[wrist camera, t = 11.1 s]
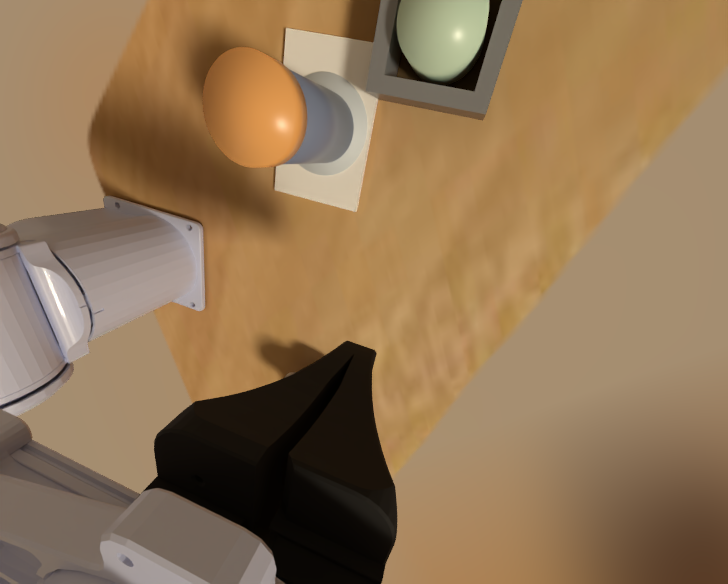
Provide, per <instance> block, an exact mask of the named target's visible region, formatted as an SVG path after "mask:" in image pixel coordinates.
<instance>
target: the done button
mask: <svg viewBox="0 0 728 584" xmlns="http://www.w3.org/2000/svg"><path fill="white" fill-rule="evenodd" d="M488 14H489V0H401V2H400V5H399V9H398V15H397V36H398V41H399V44H400V47H401V49H402V52H403V53H404V55H405V57H406V58H407V60H408V62H409V63H410V65H411V67H412V68H413V70H414V72H415V73H416V74H417V76H418V77H419V78H420V79H422V80H423V81H425V82H426V83H431V84H436V85H448V84H451V83H454V82H456V81H458V80H459V79H461V78H462V77H464V76H465V75H466V74H467V73H468V72H469V71H470V70H471V69H472V68H473V66H474V65H475V63H476V62H477V60H478V58H479V56H480V54H481V51H482V48H483V45H484V40H485V34H486V28H487V21H488Z"/></svg>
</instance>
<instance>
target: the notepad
mask: <svg viewBox="0 0 728 584" xmlns="http://www.w3.org/2000/svg"><path fill="white" fill-rule="evenodd" d="M373 43H374V42H368V41H362V40H356V39H350V38H344V37H338V36H332V35H326V34H320V33H314V32H308V31H302V30H296V29H290V28H286V35H285V49H284V63H283V64H284V65H285V66H286V67H287V68H288V69H290V70H292V71H293V72H295V73H297V74H299V75H301V76H303V77H305V78H307V79H309V80H311V81H313V82H315V83H317V84H319V85H321V86H323V87H325V88H327V89H329V90H331V91H333V92H335V93H337V94H338V95H339V96H341V97H342V98H343V99H344V100H345V102H346V103H347V105H348V107H349V108H350V111H351V113H352V117H353V123H354V131H353V138H352V141H351V144H350V146H349V148H348V149H347V151H346V152H345V153H344V154H343V155H342V156H341V157H340V158H339V159H337V160H335V161H333V162H329V163H311V164H282V165H279V166H276V176H275V190H276V191H280V192H284V193H287V194H291V195H295V196H299V197H302V198H306V199H310V200H313V201H317V202H321V203H324V204H328V205H332V206H336V207H339V208H343V209H347V210H350V211H354V212H357V209H358V204H359V198H360V193H361V188H362V182H363V177H364V172H365V166H366V161H367V156H368V151H369V145H370V140H371V135H372V129H373V124H374V119H375V113H376V108H377V103H378V99H377V98H375V97H374V96H372V95H371V94H369V93H368V92H366V91H365V90H366V84H367V79H368V73H369V67H370V61H371V55H372V49H373Z"/></svg>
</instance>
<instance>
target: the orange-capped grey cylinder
mask: <svg viewBox="0 0 728 584" xmlns="http://www.w3.org/2000/svg"><path fill="white" fill-rule="evenodd" d="M203 112H204V117H205V121H206V124H207V127H208V130H209V132H210V135H211V136H212V138H213V140H214V142H215V143H216V145H217V146H218V148H219V149H220V150H221V151H222V152H223V153H224V154H225V155H226V156H227V157H228V158H229V159H231V160H232V161H234V162H235V163H237V164H239V165H242V166H245V167H250V168H262V167H275V166H279V165H282V164H311V163H329V162H333V161H335V160H337V159H339V158H340V157H341V156H342V155H343V154H344V153H345V152H346V151H347V149H348V148H349V146H350V144H351V141H352V138H353V131H354V123H353V117H352V113H351V111H350V108H349V107H348V105H347V103H346V102H345V100H344V99H343V98H342V97H341V96H339V95H338V94H337V93H335V92H333V91H331V90H329V89H327V88H325V87H323V86H321V85H319V84H317V83H315V82H313V81H311V80H309V79H307V78H305V77H303V76H301V75H299V74H297V73H295V72H293V71H292V70H290V69H288V68H287V67H286V66H285V65H284V64H282V63H281V62H279V61H278V60H276V59H274V58H272V57H270V56H268V55H266V54H264V53H263V52H261V51H258V50H256V49H253V48H249V47H237V48H233V49H230V50H228V51H226V52H224V53H223V54H221V55H220V56H219V57H218V58H217V59H216V60H215V61H214V63H213V64H212V66H211V67H210V69H209V71H208V74H207V76H206V79H205V83H204V88H203Z"/></svg>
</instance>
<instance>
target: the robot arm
mask: <svg viewBox="0 0 728 584" xmlns="http://www.w3.org/2000/svg"><path fill="white" fill-rule="evenodd" d="M103 201H104V207H105V208H101V209H93V210H86V211H79V212H72V213H64V214H57V215H50V216H42V217H35V218H28V219H23V220H19V221H16V222H14V223H12V224H9V225H8V226H4V225H3V224H0V584H381V582H382V578H383V574H384V569H385V564H386V561H387V559H388V557H389V555H390V553H391V550H392V548H393V546H394V543H395V540H396V533H397V504H396V492H395V485H394V483H393V480H392V478H391V475H390V473H389V470H388V467H387V464H386V461H385V458H384V455H383V452H382V448H381V445H380V441H379V437H378V433H377V428H376V423H375V418H374V411H373V402H372V369H373V365H374V361H375V357H376V354H377V353H376V352H375V350H373V349H370V348H367V347H364V346H361V345H358V344H355V343H353V342H350V341H346V342H344V343H343V344H341V345H340V346H338V347H337V348H336V349H334V350H333V351H331V352H330V353H328V354H327V355H325V356H324V357H322V358H321V359H319V360H317V361H316V362H314V363H313V364H311V365H309V366H307V367H305V368H303V369H302V370H300V371H298V372H296V373H294V374H292V375H290V376H288V377H285V378H283V379H281V380H278V381H276V382H273V383H271V384H268V385H265V386H262V387H259V388H256V389H253V390H249V391H246V392H242V393H238V394H234V395H229V396H225V397H219V398H213V399H207V400H202V401H195V402H194V403H193V404H192V405H190V406H189V407H188V408H186V409H185V410H184V411H183V412H182V413H180V414H179V415H178V416H177V417H176V418H175V419H174V420H172V421H171V422H170V423H169V424H168V425H167V426H166V427H165V428H164V429H162V430H161V431H160V432H159V433H158V434H157V436H156V438H155V442H154V452H155V459H156V466H157V473H158V476H157V477H156V478H155V479H154V481H153V482H152V483H151V484H150V485H149V486H148V487H147V488H146V489H145V490H144V491H143V492H142V493H141V494H139V493H137V492H134V491H132V490H131V489H129V488H127V487H125V486H123V485H121V484H119V483H117V482H115V481H113V480H111V479H109V478H107V477H105V476H103V475H101V474H99V473H97V472H95V471H93V470H91V469H89V468H87V467H85V466H83V465H81V464H79V463H77V462H75V461H73V460H71V459H69V458H67V457H65V456H63V455H61V454H59V453H58V452H56V451H54V450H51V449H49V448H48V447H45V446H43V445H42V444H40V443H38V442H36V441H34V440H32V434H31V431H30V428H29V427H28V425H27V424H26V423H25V422H24V421H23V420H22V419H20V418H18V417H16V416H18V415H20V414H22V413H25V412H27V411H28V410H30V409H32V408H34V407H36V406H37V405H39V404H41V403H42V402H44V401H45V400H47V399H48V398H50V397H51V396H52V395H53V394H55V393H56V392H57V391H58V390H59V389H60V388H61V387H62V386H63V385H64V384H65V383H66V382H67V381H68V380H69V378H70V377H71V375H72V373H73V370H74V367H73V363H72V362H73V361H75V360H77V359H79V358H81V357H83V356H85V355H86V354H88V353H89V352H90V351H89V348H88V342H89V341H92V340H94V339H96V338H98V337H100V336H102V335H104V334H106V333H108V332H110V331H112V330H114V329H116V328H118V327H120V326H122V325H124V324H126V323H128V322H131V321H133V320H135V319H137V318H139V317H141V316H143V315H145V314H147V313H149V312H151V311H153V310H155V309H157V308H159V307H161V306H163V305H166V304H168V303H170V302H175V303H178V304H181V305H183V306H186V307H189V308H192V309H194V310H197V311H202V310H203V309H204V308H205V283H204V247H203V227H202V225H201V224H200V223H198V222H195V221H192V220H189V219H186V218H182V217H179V216H176V215H172V214H169V213H166V212H163V211H159V210H156V209H153V208H150V207H146V206H143V205H140V204H136V203H133V202H130V201H127V200H123V199H120V198H117V197H114V196H105V197H104V199H103ZM190 225H191V227H192V229H191V227H190Z"/></svg>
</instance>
